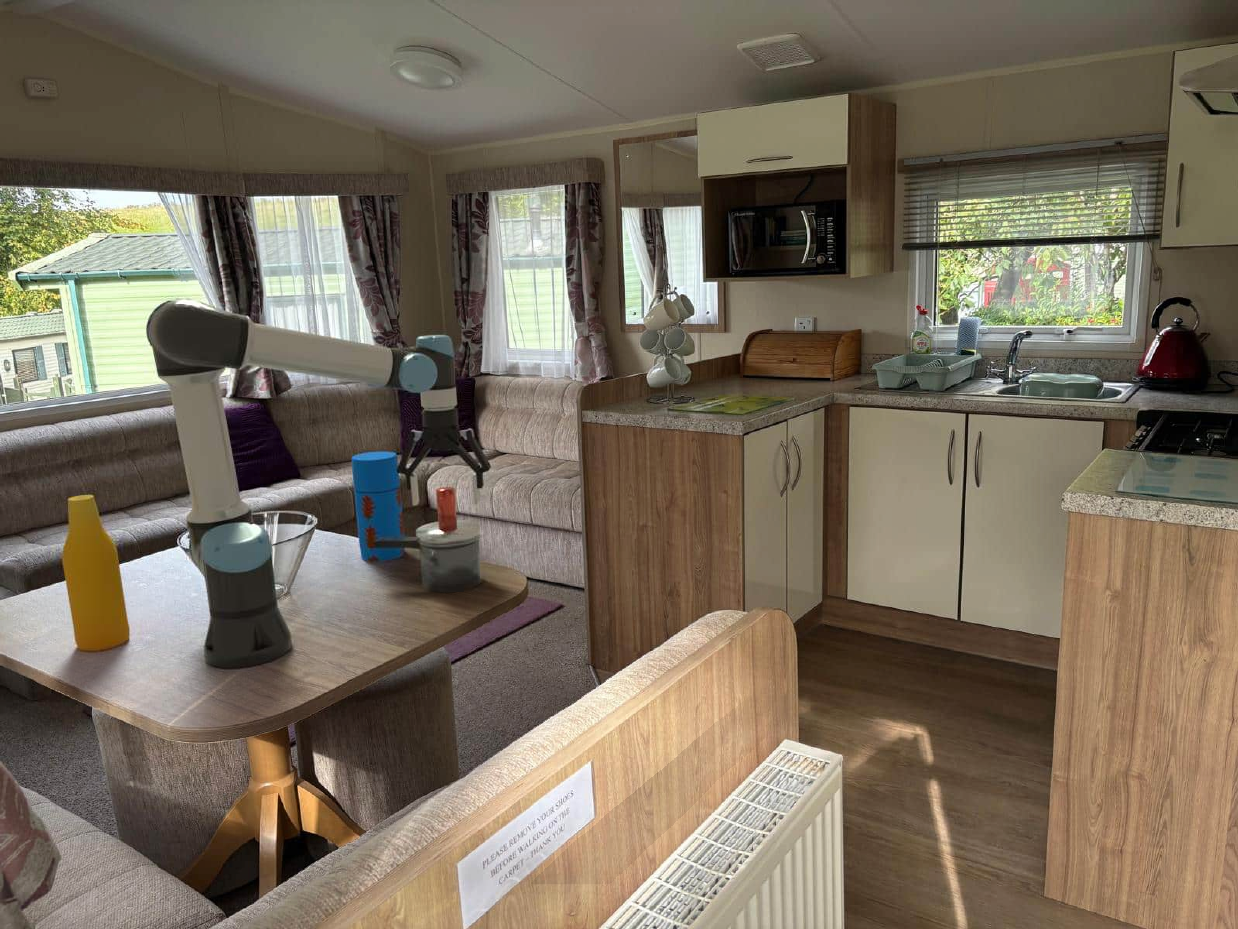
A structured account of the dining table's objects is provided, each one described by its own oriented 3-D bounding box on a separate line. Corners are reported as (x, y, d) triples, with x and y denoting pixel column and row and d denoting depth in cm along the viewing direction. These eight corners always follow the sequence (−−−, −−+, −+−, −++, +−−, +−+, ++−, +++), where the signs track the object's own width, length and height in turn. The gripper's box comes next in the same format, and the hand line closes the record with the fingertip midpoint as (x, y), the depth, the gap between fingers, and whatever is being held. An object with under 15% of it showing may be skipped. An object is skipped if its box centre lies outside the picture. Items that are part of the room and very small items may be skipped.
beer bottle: (65, 648, 177) (40, 501, 170) (109, 630, 185) (86, 490, 179) (98, 655, 173) (74, 505, 167) (141, 637, 181) (119, 493, 175)
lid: (473, 544, 197) (470, 496, 195) (409, 545, 198) (405, 497, 196) (485, 525, 211) (482, 481, 209) (425, 526, 212) (421, 482, 210)
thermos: (352, 561, 224) (343, 460, 219) (371, 547, 235) (363, 451, 229) (394, 562, 223) (386, 460, 217) (412, 548, 233) (404, 451, 227)
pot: (476, 592, 200) (473, 543, 198) (370, 594, 201) (365, 545, 199) (488, 571, 213) (485, 525, 211) (388, 573, 215) (384, 527, 212)
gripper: (500, 403, 202) (505, 498, 206) (387, 406, 203) (395, 500, 207) (493, 409, 194) (499, 506, 199) (377, 411, 196) (385, 508, 200)
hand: (446, 503), depth 203 cm, fingers open, 13 cm apart
